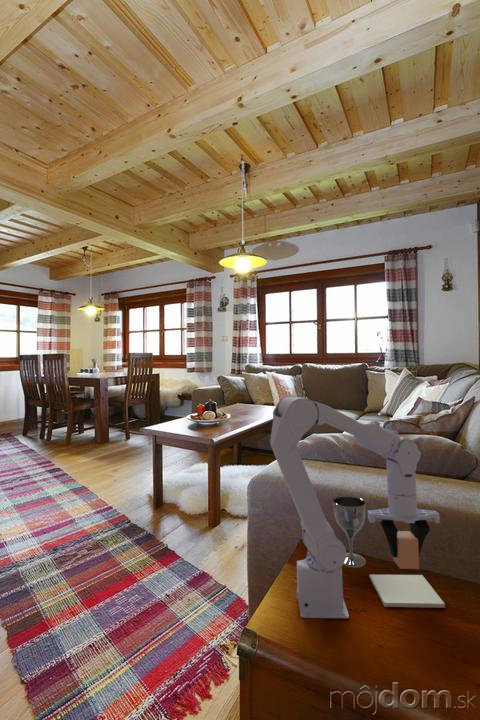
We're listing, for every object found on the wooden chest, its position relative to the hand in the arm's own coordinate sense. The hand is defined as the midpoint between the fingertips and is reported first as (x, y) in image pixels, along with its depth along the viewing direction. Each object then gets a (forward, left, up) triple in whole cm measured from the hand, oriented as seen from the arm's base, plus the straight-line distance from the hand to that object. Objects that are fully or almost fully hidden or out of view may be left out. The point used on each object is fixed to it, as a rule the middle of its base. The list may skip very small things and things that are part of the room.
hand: (404, 555), depth 75 cm
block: (0, 0, -2) cm, 2 cm away
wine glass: (-8, +14, -9) cm, 18 cm away
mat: (0, +1, -8) cm, 8 cm away
